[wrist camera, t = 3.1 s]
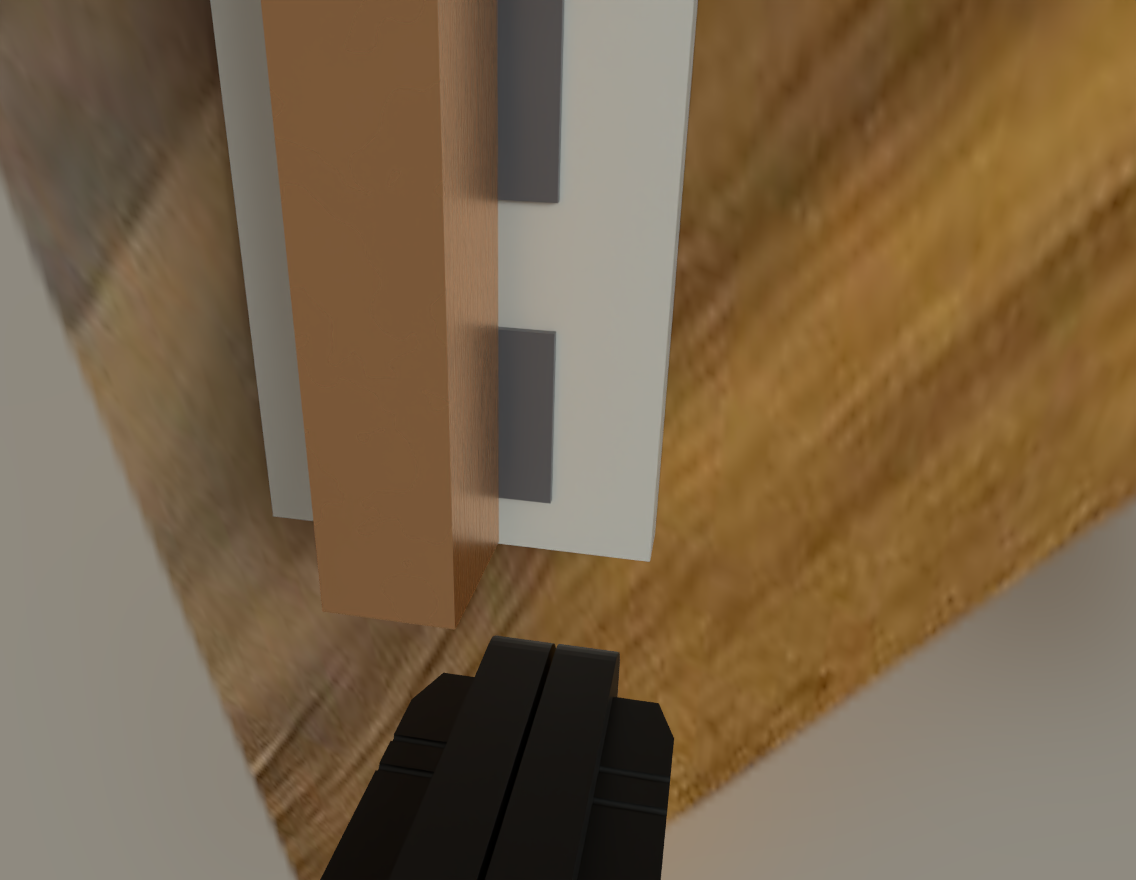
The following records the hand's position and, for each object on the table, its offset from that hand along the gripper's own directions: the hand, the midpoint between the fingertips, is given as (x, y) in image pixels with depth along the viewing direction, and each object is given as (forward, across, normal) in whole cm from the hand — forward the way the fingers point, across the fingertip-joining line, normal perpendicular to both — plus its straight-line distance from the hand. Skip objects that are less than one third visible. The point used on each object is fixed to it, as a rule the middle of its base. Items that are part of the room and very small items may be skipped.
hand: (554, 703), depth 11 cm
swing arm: (+17, +7, -5) cm, 19 cm away
